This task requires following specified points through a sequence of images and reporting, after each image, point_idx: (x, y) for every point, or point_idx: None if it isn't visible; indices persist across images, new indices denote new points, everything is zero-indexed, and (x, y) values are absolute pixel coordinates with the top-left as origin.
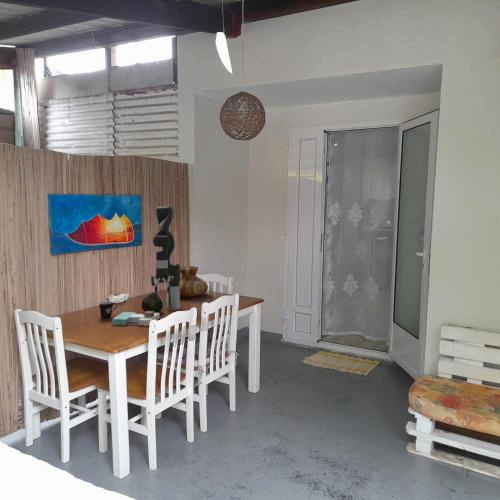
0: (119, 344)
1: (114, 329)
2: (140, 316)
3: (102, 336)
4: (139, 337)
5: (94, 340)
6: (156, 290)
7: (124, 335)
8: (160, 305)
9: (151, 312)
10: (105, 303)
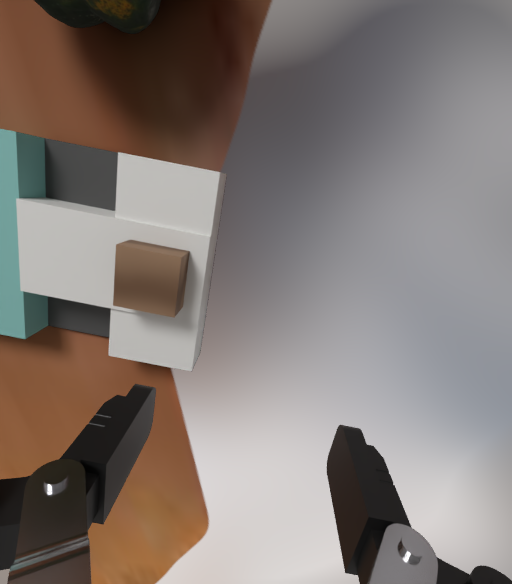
0: (126, 570)
1: (20, 393)
2: (96, 284)
3: None
4: (183, 511)
5: None
6: (135, 459)
7: None
8: None
9: (166, 292)
10: None
